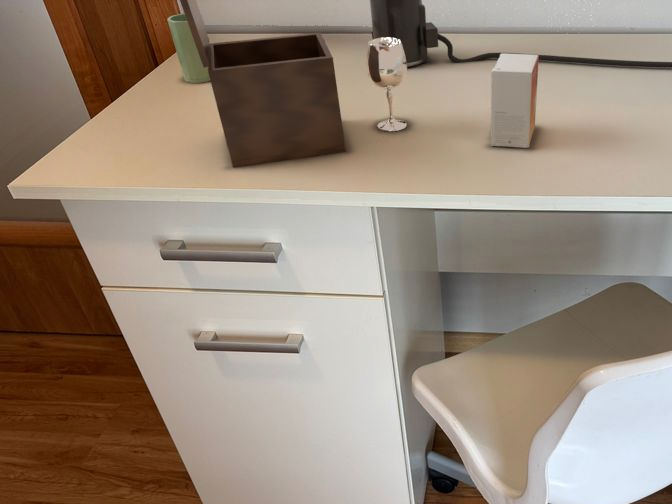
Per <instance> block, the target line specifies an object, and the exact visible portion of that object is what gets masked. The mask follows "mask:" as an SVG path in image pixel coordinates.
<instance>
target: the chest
mask: <svg viewBox="0 0 672 504" xmlns="http://www.w3.org/2000/svg"><path fill="white" fill-rule="evenodd" d="M209 51H210V67H208V73H209V77H210V81H209V82H210V84H211V85H210V86H211V89H212V92H213V97H214V100H215V104H216V107H217V108H216V109H217V111H218V115H219V119H220V123H221V127H222V130H223V134H224V138H225V139H224V140H225V143H226V147H227V150H228V155H229V158H230V161H231V167H232V168H236V167H244V166H251V165H259V164H265V163H266V164H267V163H273V162H279V161H280V162H281V161H287V160H293V159H294V160H295V159H302V158H308V157H309V158H310V157H315V156H323V155H324V156H325V155H331V154H339V153H345V152H347V149H346V142H345V135H344V129H343V127H344V126H343V121H342V114H341V113H342V112H341V105H340V99H339V91H338V85H337V78H336V77H337V76H336V71H335V63H334V57H333V55H332V53H331V52H330V49H329V47H328V46H327V43H326V41H325V39H324V37H323V34H322V33H321V32H313V33H312V32H310V33H302V34H292V35H283V36H282V35H280V36H271V37H261V38H251V39H242V40H241V39H240V40H231V41H223V42H212V43H209Z"/></svg>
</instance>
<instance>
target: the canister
mask: <svg viewBox="0 0 672 504" xmlns="http://www.w3.org/2000/svg"><path fill="white" fill-rule="evenodd" d="M201 17H202V20H203V23H204V26H205V22H204V18H203V15H202V14H201ZM167 24H168V26H169V30H170V34H171V37H172V41H173V44H174V48H175V51H176V56H177V59H178V63H179V66H180V69H181V74H182V76H183V79H184V81H185V82H186V83H190V84H201V83H206V82H211V81H210V77H209V73H208V67H205V68H204V67H203V64H202V62H201V59H200V56H199V53H198V50H197V47H196V45H195V42H194V39H193V36H192V33H191V30H190V28H189V25H188V22H187V19H186V16H185V13H184V12H183V13H178V14H174V15H171V16H169V17H167ZM205 27H206V26H205Z"/></svg>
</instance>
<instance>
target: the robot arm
mask: <svg viewBox="0 0 672 504" xmlns="http://www.w3.org/2000/svg"><path fill="white" fill-rule="evenodd" d="M369 6H370V7H369V8H370V17H371V27H372V31H371V38H372V39H371V40H373V39H376V38H384V37H390V38H397V39H399V40H401V43H402V46H403V49H404V52H405V57H406V62H407V68H410V67H416V66H418V65H420V64H424V63H428V62H429V53H428V49H432V48H439V41H440V42H442V43H444V45H445V46H446V47H447V58H448V59H449V60H450V61H451V62H452V63H454V64H462V63H472V62H479V61H480V62H481V61H484V60H488V59H499V57H500V54H501V53H502V52H487V53H482V54H478V55H476V56H472V57H469V58H458V57H457V56H455V55H454V54H453V53H454V51H453V50H454V47H453V44H452V41H450V39H448V38H447V37H446V36H444V35H442V34H440V33H439V31H438V29H439V28H438V27H437V26H436V25H435V24H434V23H433V22H432V21H430V22H427V16H426V6H425V5H424V4H423V0H369ZM504 53H505V54H520V53H519V52H518V53H517V52H504ZM526 54H527V55H536V54H534V53H533V54H532V53H526ZM537 55H538V56H539V61H544V62H556V63H557V62H559V63H570V64H571V63H572V64H584V65H586V64H587V65H596V66H597V65H598V66H599V65H600V66H612V67H613V66H614V67H616V66H617V67H633V68H634V67H635V68H663V69H664V68H666V69H669V68H671V69H672V61H647V60H646V61H645V60H644V61H643V60H623V59H608V58H592V57H579V56H578V57H576V56H565V55H564V56H562V55H551V54H550V55H549V54H537Z"/></svg>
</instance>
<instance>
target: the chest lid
mask: <svg viewBox="0 0 672 504" xmlns="http://www.w3.org/2000/svg"><path fill="white" fill-rule="evenodd" d="M179 2H180V5H181V8H182V10H183V14H184V13H185V16H186V19H187V22H188V25H189V28H190V30H191V33H192V36H193V39H194V42H195V45H196V47H197V50H198V53H199V56H200V59H201V62H202V64H203V67H204V68H205V67H210V51H209V44H210V37H209V35H208V31H207V29H206V26H204V25H205V22H204V23H203V21H204V19H203V20H202V17H203V16H202V17H201V15H202V14H201V11H200V8H199V5H198V2H197V0H179Z"/></svg>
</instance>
